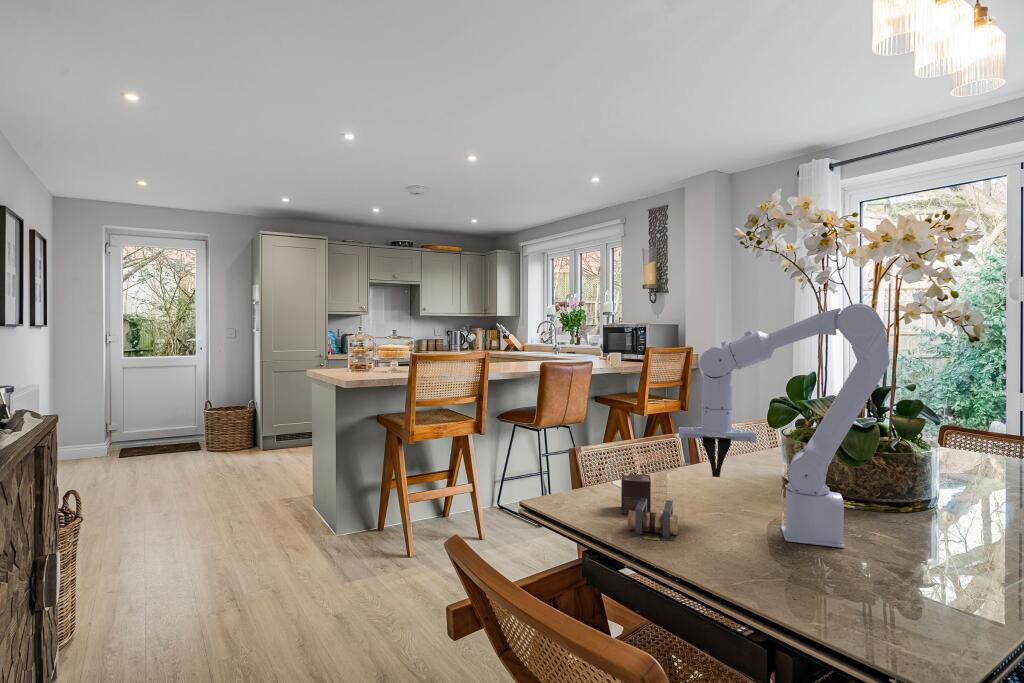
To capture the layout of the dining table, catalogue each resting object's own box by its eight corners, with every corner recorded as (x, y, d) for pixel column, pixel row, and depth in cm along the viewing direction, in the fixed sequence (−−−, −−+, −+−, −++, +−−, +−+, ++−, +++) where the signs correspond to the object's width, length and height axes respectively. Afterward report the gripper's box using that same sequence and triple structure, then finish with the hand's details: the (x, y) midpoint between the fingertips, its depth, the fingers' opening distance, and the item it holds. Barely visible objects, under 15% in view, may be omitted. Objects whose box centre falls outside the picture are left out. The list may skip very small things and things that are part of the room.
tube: (678, 525, 112) (677, 511, 110) (677, 539, 109) (676, 525, 107) (630, 519, 115) (629, 506, 113) (628, 533, 112) (627, 519, 110)
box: (650, 517, 120) (651, 481, 120) (621, 515, 121) (621, 479, 121) (649, 508, 126) (650, 474, 126) (621, 506, 127) (621, 472, 127)
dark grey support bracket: (677, 525, 115) (677, 500, 115) (674, 541, 106) (674, 513, 106) (662, 523, 116) (662, 498, 116) (657, 539, 107) (657, 511, 107)
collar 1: (651, 522, 116) (651, 497, 116) (646, 537, 108) (646, 510, 108) (636, 520, 117) (636, 496, 117) (629, 535, 109) (630, 509, 109)
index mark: (660, 539, 107) (660, 537, 107) (659, 540, 106) (659, 539, 106) (643, 537, 108) (643, 535, 108) (643, 538, 107) (643, 536, 107)
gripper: (755, 407, 117) (754, 474, 118) (680, 403, 122) (679, 468, 123) (757, 411, 111) (756, 482, 111) (678, 407, 116) (677, 476, 116)
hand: (716, 475), depth 116 cm, fingers closed
